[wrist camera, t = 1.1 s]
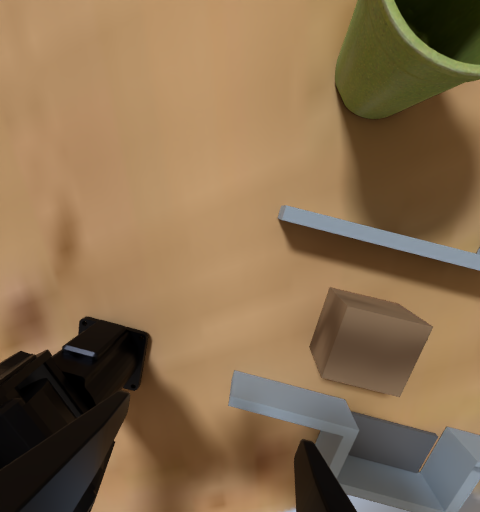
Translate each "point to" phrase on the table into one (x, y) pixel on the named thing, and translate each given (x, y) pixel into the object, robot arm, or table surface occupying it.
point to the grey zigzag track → (369, 428)
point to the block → (367, 342)
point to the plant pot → (406, 53)
